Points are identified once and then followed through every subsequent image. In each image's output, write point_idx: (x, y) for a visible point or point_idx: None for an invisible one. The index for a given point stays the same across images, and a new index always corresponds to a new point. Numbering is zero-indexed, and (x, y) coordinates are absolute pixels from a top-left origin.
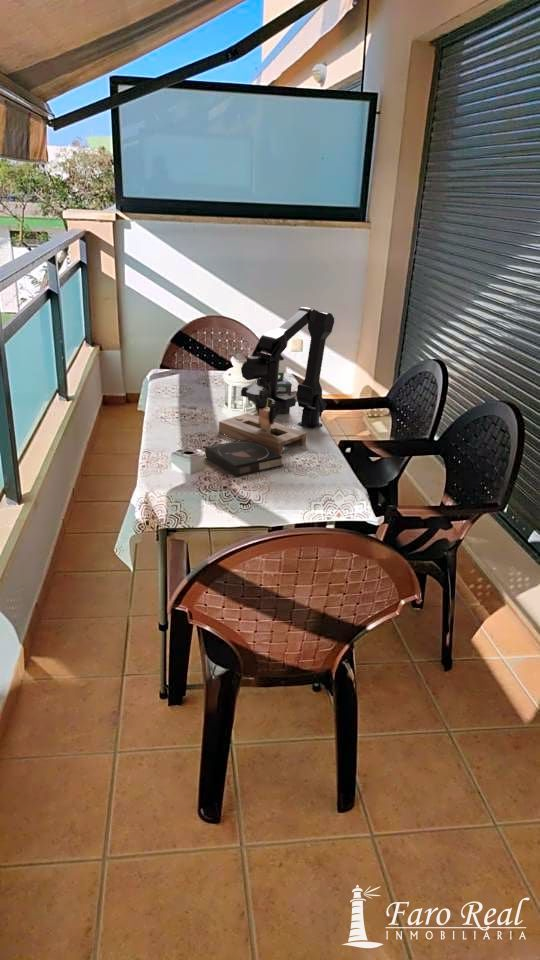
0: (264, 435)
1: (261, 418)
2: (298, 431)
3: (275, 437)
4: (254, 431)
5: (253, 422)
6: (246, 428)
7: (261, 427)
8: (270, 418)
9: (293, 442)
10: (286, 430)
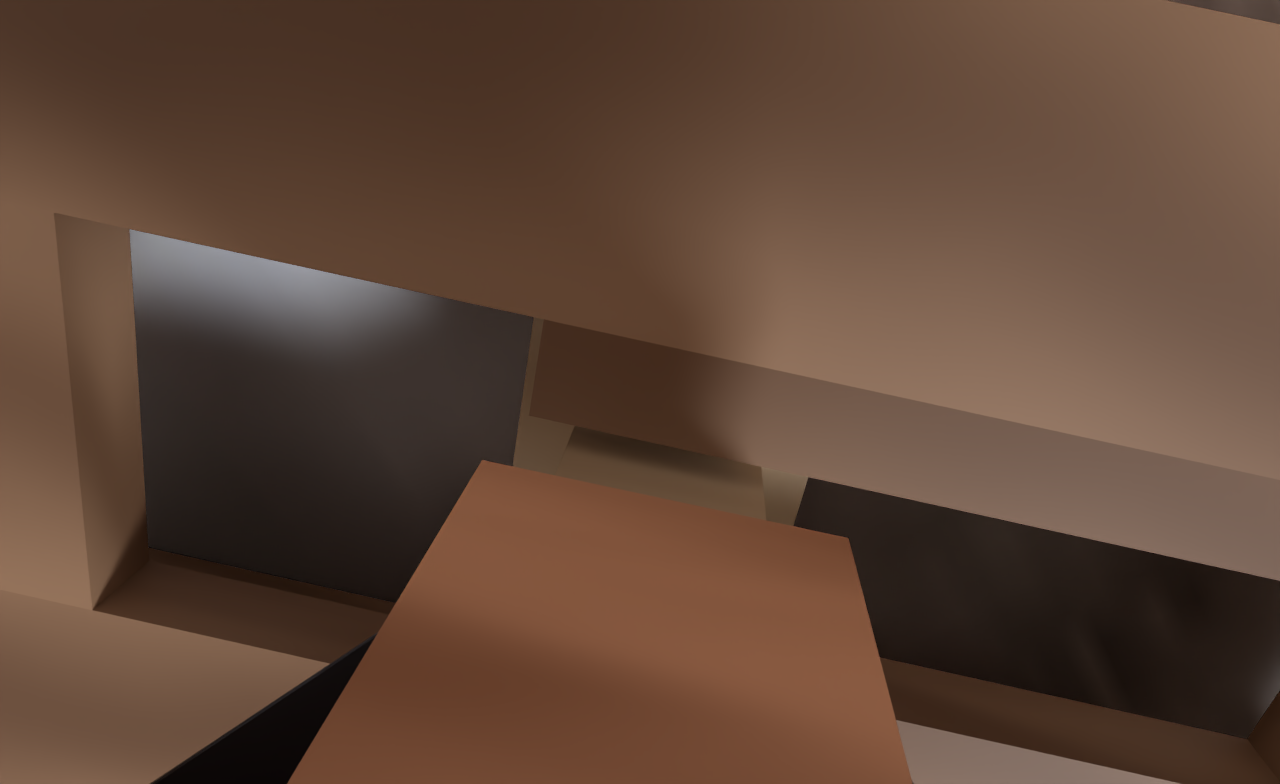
0: (345, 16)
1: (722, 653)
2: (16, 759)
3: (13, 78)
4: (788, 144)
5: (1125, 762)
6: (1139, 230)
7: (733, 501)
8: (297, 732)
9: (205, 567)
10: (208, 690)
